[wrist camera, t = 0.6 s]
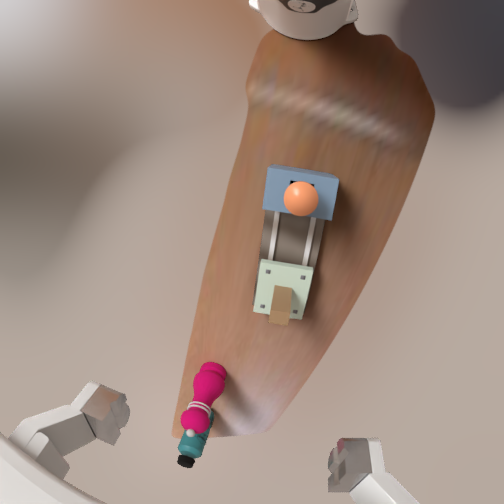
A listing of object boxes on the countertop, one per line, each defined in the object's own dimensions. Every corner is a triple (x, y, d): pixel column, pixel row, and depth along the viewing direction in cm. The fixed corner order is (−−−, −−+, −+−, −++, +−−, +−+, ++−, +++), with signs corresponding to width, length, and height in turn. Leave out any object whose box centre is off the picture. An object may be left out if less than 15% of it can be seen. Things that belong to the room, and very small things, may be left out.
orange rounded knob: (287, 175, 39) (286, 179, 35) (318, 180, 39) (321, 185, 34) (283, 205, 41) (281, 213, 36) (313, 210, 41) (315, 218, 36)
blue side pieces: (272, 164, 46) (267, 167, 38) (332, 174, 45) (339, 179, 37) (267, 200, 48) (262, 211, 41) (325, 210, 47) (331, 222, 40)
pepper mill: (221, 358, 62) (196, 426, 44) (233, 379, 64) (213, 445, 46) (194, 362, 64) (165, 425, 46) (207, 382, 66) (183, 445, 48)
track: (267, 198, 48) (266, 201, 46) (325, 208, 47) (327, 211, 45) (253, 300, 56) (252, 306, 54) (304, 309, 55) (304, 315, 53)
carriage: (261, 258, 50) (253, 283, 41) (312, 267, 49) (315, 294, 40) (254, 307, 53) (246, 338, 45) (301, 315, 52) (301, 347, 44)
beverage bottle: (208, 417, 72) (190, 472, 54) (189, 406, 72) (167, 461, 53) (221, 410, 70) (202, 468, 52) (201, 398, 69) (178, 457, 51)
